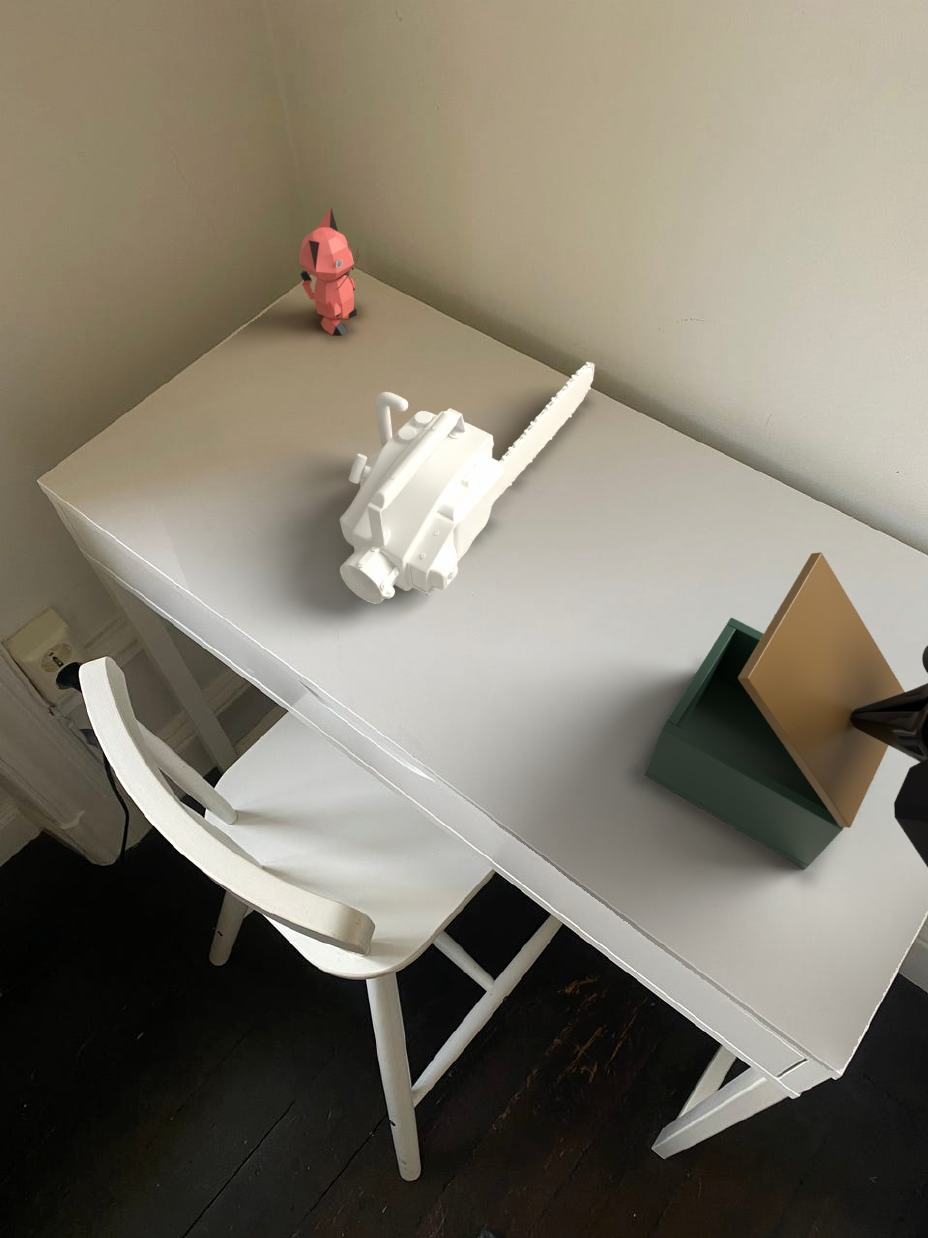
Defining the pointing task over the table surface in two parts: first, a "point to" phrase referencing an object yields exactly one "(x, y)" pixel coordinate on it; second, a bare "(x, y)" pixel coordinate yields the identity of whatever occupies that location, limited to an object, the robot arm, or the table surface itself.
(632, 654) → the table surface
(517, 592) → the table surface
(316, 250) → the cat figurine
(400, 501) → the chainsaw
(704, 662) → the green open box
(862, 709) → the robot arm
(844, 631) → the lid
